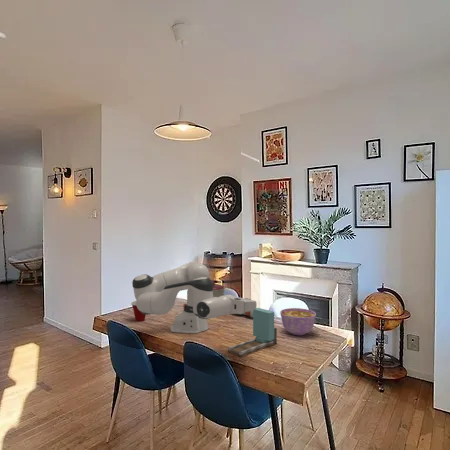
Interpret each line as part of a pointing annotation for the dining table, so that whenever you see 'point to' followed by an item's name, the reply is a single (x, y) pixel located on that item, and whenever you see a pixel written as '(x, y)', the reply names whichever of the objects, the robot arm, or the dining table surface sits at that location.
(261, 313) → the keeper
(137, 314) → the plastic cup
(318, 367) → the dining table surface
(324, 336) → the dining table surface
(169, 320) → the dining table surface
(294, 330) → the bowl of food
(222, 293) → the canister
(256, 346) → the rail
